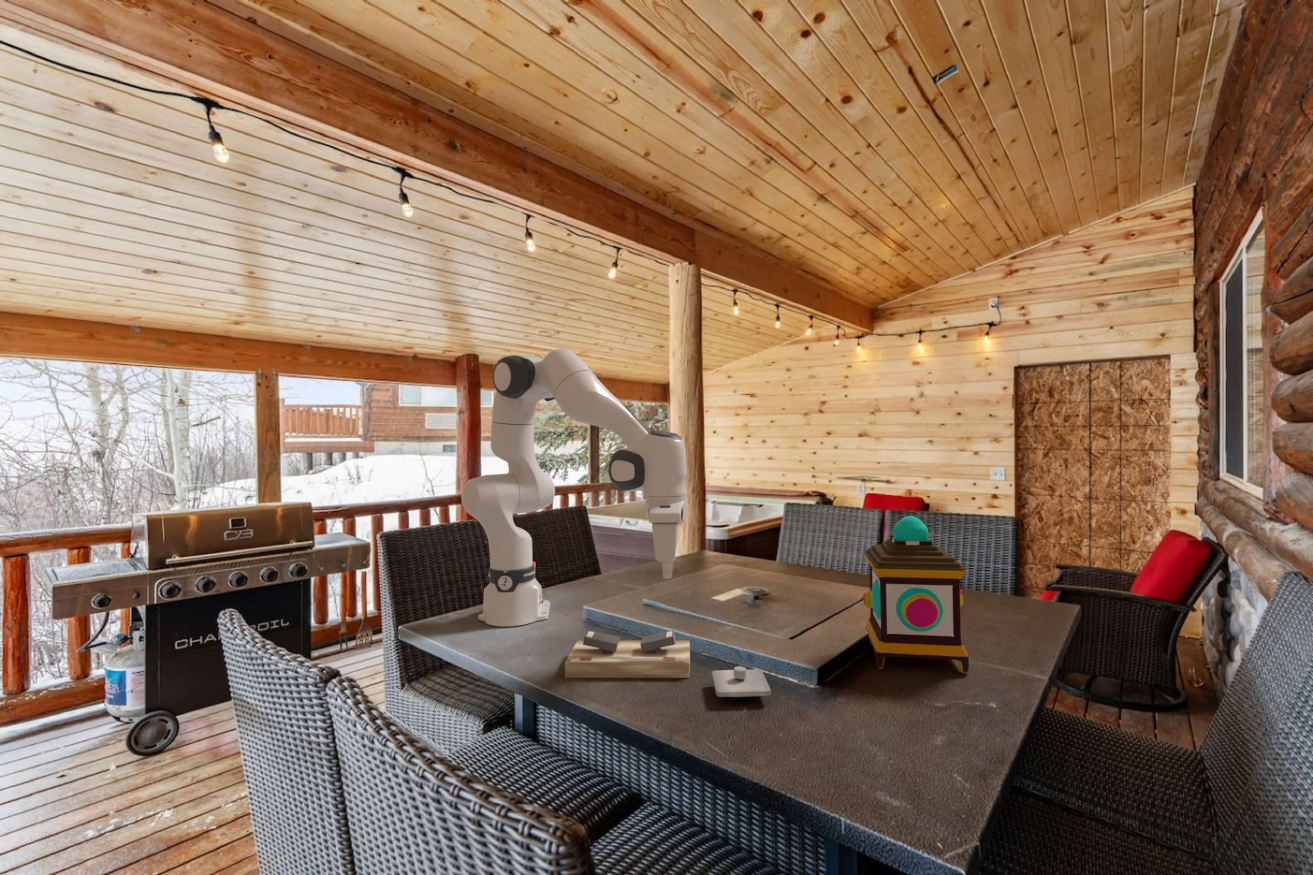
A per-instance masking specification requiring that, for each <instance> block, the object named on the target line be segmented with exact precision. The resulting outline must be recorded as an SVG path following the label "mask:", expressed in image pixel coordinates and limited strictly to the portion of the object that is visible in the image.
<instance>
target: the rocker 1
mask: <svg viewBox="0 0 1313 875" xmlns="http://www.w3.org/2000/svg"><path fill="white" fill-rule="evenodd" d="M583 641H584V642H583V645H586V646H591V647H596V648H601V649H605V650H610V651H615V652H616V650H617V647H618V644H619V641H620V636H618V635H612V634H608V633H603V632H598V631H594V630H587V632H586V633H585V635H584V637H583Z"/></svg>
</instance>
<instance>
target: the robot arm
mask: <svg viewBox="0 0 1313 875" xmlns="http://www.w3.org/2000/svg"><path fill="white" fill-rule="evenodd" d="M492 371H493V372H492V381H493V382H492V384H493V385H494V388H495V390H496V391H495V394H494V398H493V405H492V410H491V411H492V413H491V426H490V427H491V428H490V430H491V431H490V449H491V451H492V453H493V455H495V457H497V458H499V459H500V460H502V461H504V462H506V464H507V467H508V473H498V474H497V473H495V474H485V475H481V476H477V477H473V478H469V479H468V480H467V481H466V482H465V484H464V486H463V487H462V490H461V494H460V495H461V496H460V497H461V498H460V499H461V504H462V506H463V508H464V511H466V513H467V514H469V515H470V516H471V517H473V518H474V519H476V521H478V522H479V524H480V525H481V527H482V528H483V530H484V532H485V534H486V537H487V540H488V548H489V563H490V565H489V568H488V573H487V574H488V581H489V584H488V585H487V586H485V587H484V590H483V609H482V613H480V614H478V616H477V617H478V618H477V620H479V621H483V622H484V623H486V624H487V625H490V626H494V627H515V626H516V627H518V626H524V625H527V624H532V623H534V622H539V621H544V620H547V619H549V614H550V608H551V601H550V600H547V599H543V591H542V590H543V588H542V585H541V583H539V581H538V580H537V579H536V575H537V574H536V561H533V538H532V536H531V535H530V533H529V532H528V531H526V530H525V529H523V528H522V527H519V526H516V524H515V522H514V519H513V518H514V517H513V515H516V514H517V515H518V514H525V513H533V512H537V511H541V510H542V509H545V508H548V507H550V506H551V505H552V503H553V501H554V499H555V494H556V489H555V488H556V487H555V484H554V482H553V479H552V478H551V477H550V476H549V475H548V474H547V473H545V472H544V470H543V469H542V468H541V467H540V465H539V463H538V460H537V457H536V453H535V423H536V422H535V420H536V419H535V418H536V416H535V413H536V411H535V410H536V406H537V404H538V402H540V401H542V400H544V401H546V402H550V401H553V400H555V402H556V403H557V405H558V406H559V407H560V409H561V410H562V411H563V412H564V414H566V415H567V416H568V417H569V418H570V419H571V420H574V421H576V422H578V423H581V424H586V425H591V426H595V427H598V428H602V429H606V430H608V431H610V432H612V433H614V434H615V435H617V436H618V437H619V438H620V440H622V441H623V442H624V443H625V445H626V446H627V447H623V448H621V449H618V450H616V451H614V453H613V454H612V455H611V457H610V459H609V461H608V466H607V467H608V468H607V470H608V478H609V479H610V482H611V484H612V485H613V487H615V488H616V489H617V490H619V491H621V492H626V493H627V492H630V493H631V492H639V491H641V492H642V491H645V492H644V493H645V517H646V518H647V519H648V522H649V524H651V529H652V530H651V531H652V532H651V533H652V539H653V548H654V556H655V559H656V561H657V562H658V563H661V566H662V577H663V579H665V580H671V579H672V577H673V570H674V561H675V560H676V553H677V548H678V547H677V546H678V540H679V539H678V537H679V536H678V534H679V527H680V526H682V525H683V520H684V519H685V518H687V517H688V515H689V512H688V511H689V510H688V509H689V503H688V501H689V500H688V490H687V486H686V478H687V475H688V468H687V467H688V464H687V462H688V461H687V454H686V446H685V442H684V440H683V438H682V437H681V436H680V435H679V434H678V433H674V432H671V431H670V432H669V431H661V430H654V431H651V430H650V429H648V427H647V426H645V424H644V423H643V422H642V421H641V420H640V419H639V418H638V417H637V416H636V414H634V412H633V411H632V410H630V409H629V407H628V406H627V405H626V404H624V403H623V402H622V401H620V400H619V399H618V398H617V397H616V396H615V395H614V394H612V393H611V392H610V390H609V389H608V388H606V386H605V385H604V384H603V383H602V382H601V381H600V380H599V379H598V377H597V376H596V374H595V373H594V372H593V371H592V370H591V369H590V367H589V366H588V365H587V364H586V363H585V362H584V360H582V359H581V357H579V356H578V355H577V354H576V353H574V351H572V350H570V349H568V348H555V349H553V350H551V351H550V352H548V353H547V354H546V355H538V354H537V355H535V354H534V355H517V354H516V355H515V354H513V355H512V354H511V355H507V356H504V357H501V358H500V359H499V360H497V362H496V364H495V366H494V368H493V370H492Z"/></svg>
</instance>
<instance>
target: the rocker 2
mask: <svg viewBox="0 0 1313 875" xmlns="http://www.w3.org/2000/svg"><path fill="white" fill-rule="evenodd" d="M675 640H677V639H676V632H675V630H668V631H663V632H659V633H658V632H657V633H654V634H650V635H649V634H648V635H645V636H641V643H640V645H641V649H642V652H643V651H647V650H652V649H657V648H661V647H666V646H671V645H675Z"/></svg>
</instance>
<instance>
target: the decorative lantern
mask: <svg viewBox="0 0 1313 875" xmlns="http://www.w3.org/2000/svg"><path fill="white" fill-rule="evenodd" d="M864 556H865V558H866V560H867V563H868V565H869V566H868V567H869V591H865V592H864V593H863V596H862V600H863V601H862V602H863V604H864V606H865V607H866V608H869V610H870V616H869V618H868V620H867V622H866V623H865V624H866V625H865V627H864V629H865V628H866V630H867V632H868V637H869V639H870V642H869V643H870V644H871V646H872V648H873V651H874V656H875V665H876V668H878V670H882V669H883V668H884V663H885V659H886V658H888V657H891V658H892V657H893V658H907V659H908V658H909V659H910V658H913V659H929V660H930V659H933V660H951V661H954V660H955V661H958V665H959V670H960V672H961V673H962V674H967V673H968V672H969V667H970V663H969V662H970V659H969V655H968V652H967V650H966V648H965V646H964V644H963V641H962V633H961V631H962V630H961V627H962V626H961V623H962V622H961V607H962V606H963V604H964V594H963V591H962V589H961V580H962V578H963V577H964V574H965V572H966V569H965V567H964V566H963V565H961V563H960V562H959V561H958V560H956V559H955V558H954V557H953V556H952V555H950V554H949V553H948V552H947V551H945V550H944V549H943V548H941V547H940V546H939V545H936V544H934V543H933V541H932V540H931V539H930V538H929V530H928V527H927V526H926V524H924V522H923V521H922V520H921V519H919V518H918V517H916V516H912V515H908V516H904V517H903V518H901V519H900V520H898V522H897V523H896V524H895V525H894V527H893V530H892V535H890V538H887V539H886V540H885V541H884V542H881V544H873V545H872V546H871V547H868V548H867V550H866V551H864Z"/></svg>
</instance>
